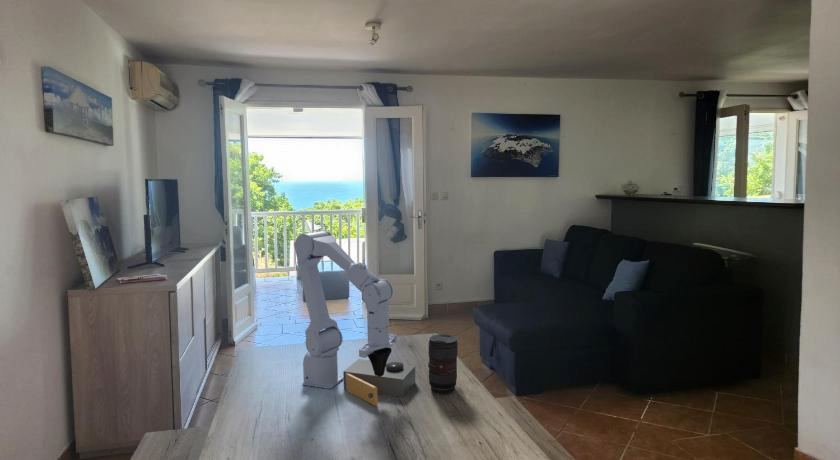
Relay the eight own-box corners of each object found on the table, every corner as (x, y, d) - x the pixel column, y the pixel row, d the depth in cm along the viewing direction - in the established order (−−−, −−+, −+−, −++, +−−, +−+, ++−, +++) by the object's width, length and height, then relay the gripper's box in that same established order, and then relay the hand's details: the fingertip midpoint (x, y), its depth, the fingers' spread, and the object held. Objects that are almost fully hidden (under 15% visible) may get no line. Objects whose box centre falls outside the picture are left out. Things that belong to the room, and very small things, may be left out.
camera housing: (343, 388, 148) (343, 367, 147) (359, 375, 157) (358, 355, 156) (403, 397, 142) (402, 375, 141) (415, 382, 151) (415, 362, 151)
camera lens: (455, 397, 142) (455, 343, 140) (426, 394, 143) (426, 342, 142) (459, 385, 150) (459, 334, 148) (431, 382, 151) (431, 332, 149)
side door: (343, 391, 146) (343, 374, 145) (348, 389, 147) (347, 372, 146) (373, 407, 136) (372, 388, 135) (377, 405, 137) (377, 387, 136)
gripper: (374, 335, 130) (375, 387, 132) (405, 321, 143) (406, 368, 144) (352, 331, 134) (353, 382, 136) (384, 317, 146) (385, 364, 148)
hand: (379, 375), depth 140 cm, fingers closed
